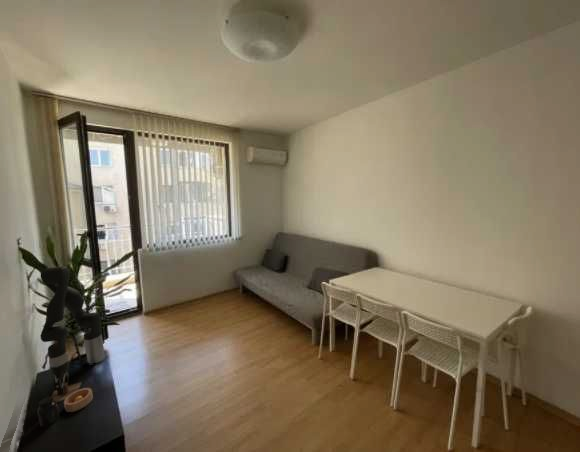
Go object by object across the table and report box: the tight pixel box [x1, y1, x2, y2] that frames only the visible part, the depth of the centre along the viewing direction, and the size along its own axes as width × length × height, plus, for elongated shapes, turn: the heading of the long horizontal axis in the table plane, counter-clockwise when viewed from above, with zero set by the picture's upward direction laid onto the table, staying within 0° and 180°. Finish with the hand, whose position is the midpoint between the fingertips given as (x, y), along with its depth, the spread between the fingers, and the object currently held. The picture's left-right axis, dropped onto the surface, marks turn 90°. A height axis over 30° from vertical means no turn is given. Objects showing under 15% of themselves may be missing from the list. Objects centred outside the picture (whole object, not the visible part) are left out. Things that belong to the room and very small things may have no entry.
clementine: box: [74, 396, 83, 402], centre depth 131 cm, size 4×4×4 cm
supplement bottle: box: [37, 396, 60, 428], centre depth 121 cm, size 7×7×12 cm
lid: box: [50, 381, 82, 403], centre depth 138 cm, size 12×12×6 cm
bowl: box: [63, 387, 94, 413], centre depth 131 cm, size 11×11×5 cm
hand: (63, 389), depth 138 cm, fingers open, 8 cm apart
